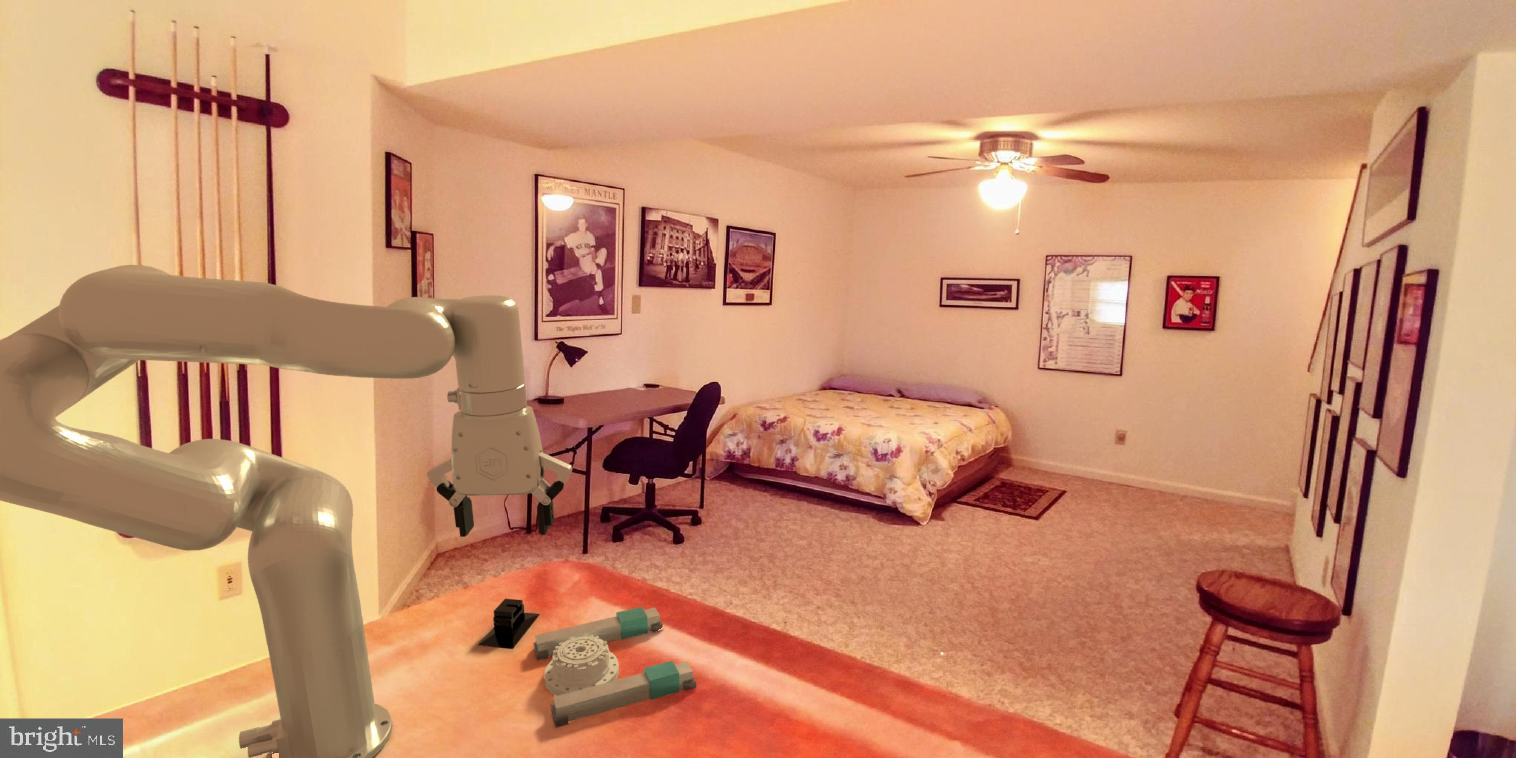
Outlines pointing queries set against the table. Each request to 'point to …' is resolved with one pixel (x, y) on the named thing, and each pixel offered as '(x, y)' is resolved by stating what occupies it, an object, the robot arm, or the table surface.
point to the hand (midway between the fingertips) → (506, 531)
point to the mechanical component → (580, 665)
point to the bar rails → (619, 691)
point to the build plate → (508, 624)
